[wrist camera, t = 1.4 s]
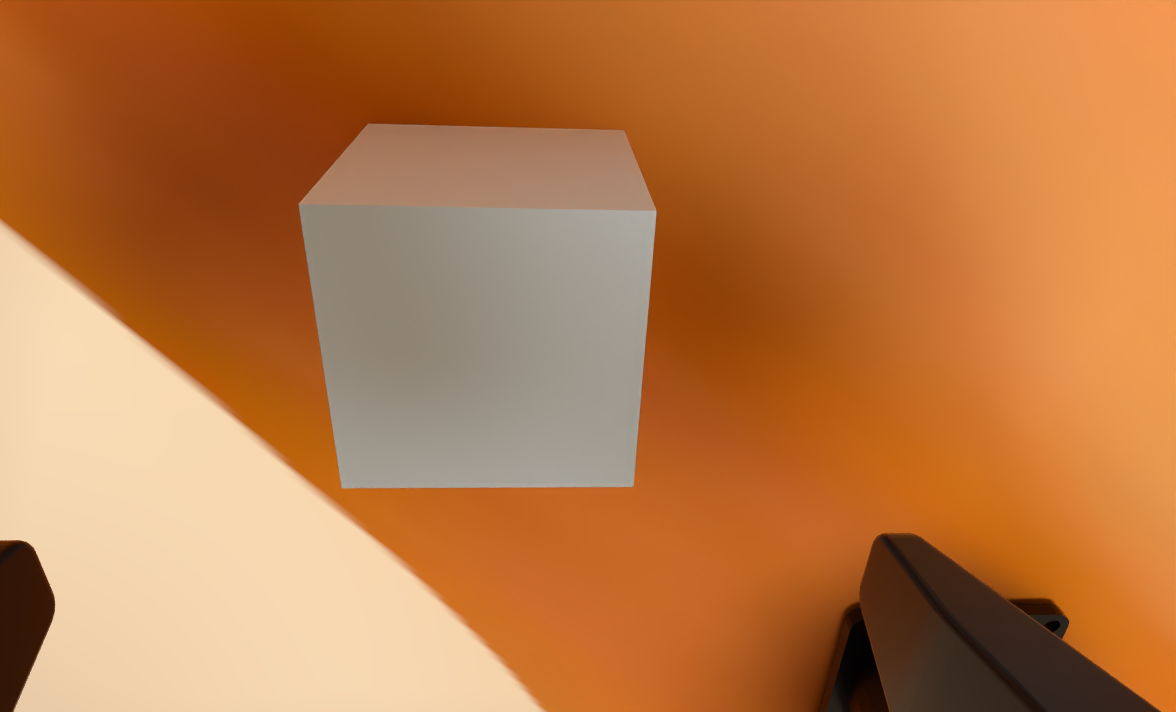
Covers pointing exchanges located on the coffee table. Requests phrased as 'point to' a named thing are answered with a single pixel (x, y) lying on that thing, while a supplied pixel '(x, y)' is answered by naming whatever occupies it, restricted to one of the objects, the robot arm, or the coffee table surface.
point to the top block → (482, 305)
